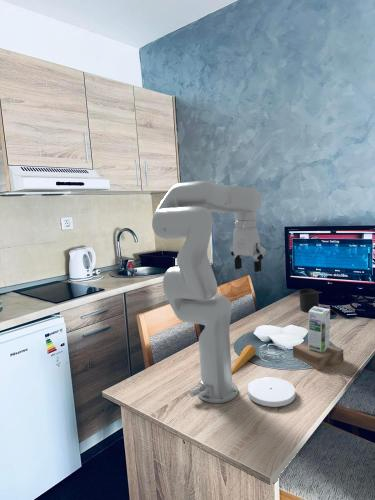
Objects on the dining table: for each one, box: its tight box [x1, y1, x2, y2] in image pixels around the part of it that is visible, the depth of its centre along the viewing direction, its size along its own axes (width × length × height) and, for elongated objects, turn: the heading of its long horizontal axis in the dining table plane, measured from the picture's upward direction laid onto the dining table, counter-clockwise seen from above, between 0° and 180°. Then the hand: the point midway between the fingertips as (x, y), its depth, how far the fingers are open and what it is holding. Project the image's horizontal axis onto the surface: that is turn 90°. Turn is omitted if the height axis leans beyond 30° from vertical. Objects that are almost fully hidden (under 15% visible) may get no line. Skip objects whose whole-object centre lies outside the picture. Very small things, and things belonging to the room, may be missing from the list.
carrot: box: [231, 344, 256, 375], centre depth 128 cm, size 20×4×4 cm, turn 146°
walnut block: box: [292, 341, 344, 372], centre depth 127 cm, size 12×12×5 cm
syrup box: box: [307, 306, 331, 353], centre depth 124 cm, size 6×6×14 cm
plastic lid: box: [246, 376, 296, 408], centre depth 107 cm, size 14×14×2 cm
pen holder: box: [298, 288, 320, 313], centre depth 181 cm, size 9×9×10 cm
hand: (247, 270), depth 134 cm, fingers open, 9 cm apart
